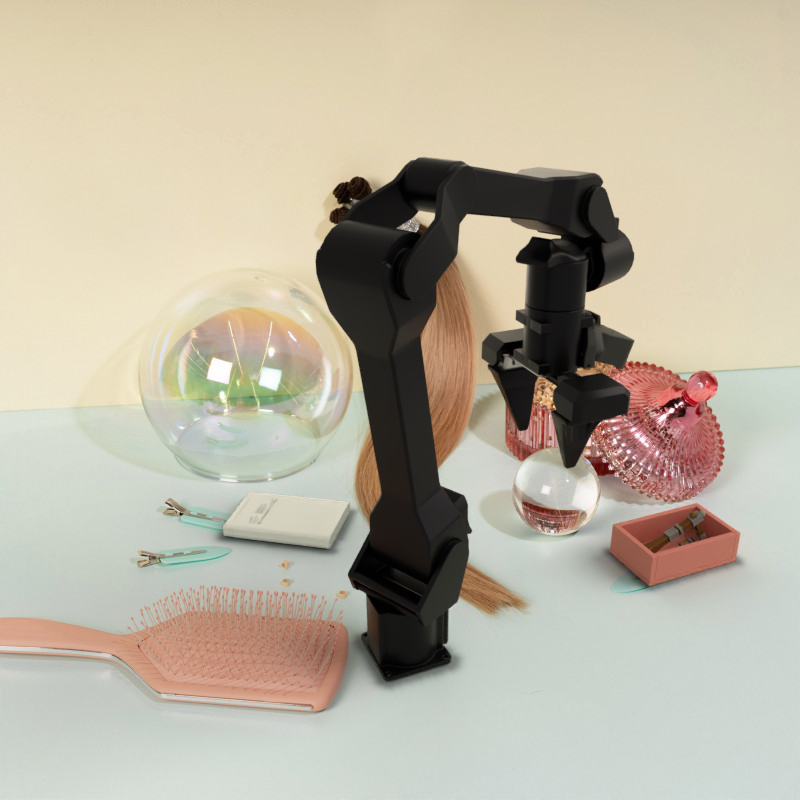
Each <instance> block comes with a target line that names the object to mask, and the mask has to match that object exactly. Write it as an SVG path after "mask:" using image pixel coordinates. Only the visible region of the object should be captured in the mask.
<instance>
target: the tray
mask: <svg viewBox="0 0 800 800" xmlns="http://www.w3.org/2000/svg"><path fill="white" fill-rule="evenodd" d="M695 510H697V511H698V512H699V511H701V510H703V511H705V516H704V517H703V519H704V521H701V522H700V524H701V527H702V529H703V532H704V533H705V535H706V539H704V540H700V541H699V539H697V540H696V542H693V543H690V544H686V545H682V546H679V544H678V542H681V541H683V540H684V539H686V538H685V536H686V537H687V538H689V539H690V538H691V539H692V537H695V536H696V532H695V531H692V530H689V529H688V530H686V531H685V532H684V534H683V535H680V537H679V538H677V539H675V540H674V541H673V542H672V543H671V542H669V543H667V544H666V545H665V546H664V547H662V548H661V549H660V550H659V551H658V552H657V553H653V552H651V551H650V550H649V549H648V548H647V547H645V546H644V545H643V544H645V543H648V542H650V541H652V540H654V539H656V538H658V537H660V536H661V535H663V534H664V532H665V531H667V530H668V529H670V528H671V527H672V526H673V527H675V524H676V523H677V524H679V523H681V522H682V521H684V520H685V519H687V516H689V514H690V513H691V512H695ZM691 528H694V529H695V527H694V526H692V527H691ZM691 536H692V537H691ZM696 537H697V536H696ZM697 538H698V537H697ZM740 538H741V532H740V531H738V530H737V529H735V528H734V527H733V526H731V525H729V524H728V523H727V522H725V521H724V520H723V519H721V518H720V517H718V516H716V515H715V514H714V513H712V512H711V511H709V510H708V509H707V508H705V507H704V506H702V505H701V504H699V503H698V502H695V503H690V504H687V505H683V506H679V507H676V508H671V509H668V510H664V511H661V512H655V513H653V514H648V515H645V516H641V517H636V518H633V519H629V520H625V521H622V522H618V523H614V524H612V529H611V538H610V547H609V548H610V549H609V553H611V555H613V556H614V557H615V558H616V559H617V560H618V561H619V562H620V563H622V564H623V565H624V566H625V567H626V568H628V570H629V571H631V572H632V573H633V574H634V575H635V576H637V578H639V579H640V580H641V581H642V582H643V583H645V584H646V585H647V586H648V587H653V586H655V585H658V584H662V583H665V582H669V581H672V580H675V579H679V578H682V577H686V576H689V575H693V574H696V573H700V572H702V571H706V570H709V569H712V568H717V567H721V566H723V565H727V564H731V563H733V562H736V560H737V555H738V550H739V545H740V540H741V539H740ZM695 539H696V538H695ZM677 546H679V547H677Z"/></svg>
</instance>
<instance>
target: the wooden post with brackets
mask: <svg viewBox="0 0 800 800" xmlns="http://www.w3.org/2000/svg"><path fill="white" fill-rule="evenodd" d="M704 516H705V511H703V510H701V511H699V512H698V511H697V510H695V512H691V513H690V514H689V516H687V519H685V520H684V521H682V522H681V523H679V524H677V523H676V524H675V527H673V526H672V527H671V528H670V529H668V530H667V531H665V532H664V534H663V535H661V536H660V537H658V538H656V539H654V540H652V541H650V542H648V543H645V544H643V545H644V546H645V547H647V548H648V549H649V550H650V551H651V552H653V553H657V552H658V551H659V550H660V549H661V548H662V547H664V546H665V545H666V544H667V543H669V542H671V543H672V542H673V541H674V540H675V539H677V538H679V537H680V535H683V534H684V532H685V531H686V530H688V529H689V530H692V531H695V532H696V536H697V537H698V538H697V537H696V536H695V537H692V536H691V537H692V539H691V538H690V539H689V538H687V537H686V536H685V538H686V539H684V540H683V541H681V542H678V544H679V546H682V545H686V544H690V543H693V542H696V540H697V539H699V541H700V540H704V539H706V535H705V533H704V532H703V529H702V527H701V524H700V522H701V521H704V519H703V517H704ZM692 526H694V527H695V529H694V528H691V527H692ZM695 538H696V539H695ZM679 546H677V547H679Z"/></svg>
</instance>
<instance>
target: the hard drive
mask: <svg viewBox="0 0 800 800" xmlns="http://www.w3.org/2000/svg"><path fill="white" fill-rule="evenodd" d="M350 512H351V502H350V501H343V500H333V499H325V498H324V499H322V498H314V497H304V496H296V495H286V494H274V493H267V492H266V493H265V492H257V491H249V492H248V493H247V494H246V495H245V497H244V498H243V500H241V502H240V503H239V504H238V506H237V507H236V508H235V509H234V511H233V513H232V514H231V515H230V516H229V517H228V518H227V520H226V521H225V522H224V524H223V526H222V533H223V536H224V537H230V538H236V539H245V540H253V541H260V542H268V543H269V542H270V543H276V544H277V543H278V544H285V545H286V544H287V545H293V546H294V545H296V546H304V547H309V548H310V547H311V548H318V549H319V548H320V549H326V550H330V549H331V548H332V547H333V545H334V543H335V541H336V540H337V537H338V535H339V534H340V532H341V530H342V528H343V526H344V524H345V522H346V521H347V519H348V517H349V515H350Z"/></svg>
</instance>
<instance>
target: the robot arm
mask: <svg viewBox="0 0 800 800" xmlns="http://www.w3.org/2000/svg"><path fill="white" fill-rule="evenodd" d="M603 184H604V180H603V178H602V176H601V175H599V174H598V173H596V172H590V171H589V172H588V171H579V170H570V169H562V168H561V169H560V168H551V167H544V166H543V167H542V166H536V167H529V168H523V169H520V170H518V171H517V172H516V173H515V172H508V171H502V170H497V169H491V168H485V167H479V166H474V165H473V166H472V165H469V164H468V163H466V162H465V161H462V160H457V159H448V158H438V157H430V156H429V157H428V156H420V157H417V158H416V159H412V160H409V161H408V162H407V163H406V164H405V165H404V166H403V167H402V168H401V170H400V171H399V172H398V173H397V175H396V176H395V177H394V178H393V179H392V180H391V181H389V182H387V183H386V184H384V185H383V186H381V187H380V188H378V189H376V190H375V191H373V192H371V193H370V194H368V195H367V196H365V197H363V198H362V199H360V200H358V201H357V202H355V203H354V204H353V205H352V206H351V207H350V208H349V210H348V211H347V212H346V213H345V215H344V216H343V217H342V218H341V219H340V220H339V221H338V223H337V224H336V225H334V226H333V227H332V228H331V229H330V230H329V232H328V233H327V234H326V235H325V237H324V239H323V241H322V243H321V245H320V247H319V248H318V249H317V250H316V253H315V262H314V263H315V274H316V278H317V280H318V284H319V286H320V289H321V292H322V294H323V298H324V301H325V303H326V305H327V309H328V311H329V313H330V314H331V316H332V318H334V320H335V321H336V322H337V324H338V325H339V326H340V328H341V329H342V330H343V332H344V333H345V335H346V336H347V337H348V338H349V340H350V341H351V342H352V344H353V346H354V349H355V352H356V358H357V363H358V364H357V365H358V369H359V375H360V380H361V385H362V390H363V391H362V392H363V397H364V403H365V408H366V414H367V419H368V425H369V430H370V436H371V441H372V448H373V452H374V457H375V463H376V469H377V474H378V480H379V486H380V491H381V492H380V495H379V497H378V499H377V501H376V502H375V504H374V506H373V508H372V509H371V511H370V513H369V515H368V518H369V519H368V520H369V531H368V533H367V535H366V538H365V539H364V541H363V542H362V544H361V547H360V549H359V551H358V553H357V555H356V557H355V558H354V560H353V562H352V564H351V566H350V568H349V570H348V572H347V578H348V579H349V582H350V584H351V586H352V589H354V590H356V591H361V592H362V593H364V594H365V602H366V603H365V604H366V605H365V606H366V631H364V632H362V633H361V634H360V637H361V638H360V640H361V642H362V644H363V645H364V647H365V649H366V651H367V653H368V654H369V656H370V658H371V660H372V661H373V664H374V665H375V667H376V669H377V670H378V673H379V674H380V675H381V677H382V679H383V680H384V681H385V682H393V681H395V680H399V679H403V678H405V677H409V676H413V675H415V674H418V673H422V672H426V671H429V670H432V669H436V668H439V667H442V666H445V665H449V664H451V662H452V655H451V653H450V652H449V650H448V649H447V647H446V646H445V645H447V644H448V642H449V618H450V617H449V615H450V614H449V613H450V608H452V607H453V606H454V605H456V604H457V603H458V602H459V598H460V595H461V590H462V586H463V582H464V578H465V574H466V570H467V567H468V562H469V557H470V547H469V546H470V540H469V535H470V534H472V533H473V529H472V527H471V525H470V522H469V503H468V500H467V498H466V496H465V494H462V493H461V492H457V491H455V490H452V489H450V488H448V487H446V486H443V485H441V482H440V475H439V468H438V461H437V459H438V458H437V452H436V445H435V438H434V437H435V436H434V429H433V421H432V415H431V408H430V401H429V400H430V399H429V393H428V385H427V377H426V371H425V370H426V369H425V361H424V356H423V348H422V334H423V332H424V330H425V328H426V326H427V324H428V322H429V320H430V319H431V317H432V314H433V313H434V310H435V309H436V307H437V299H438V298H437V291H438V290H437V288H438V287H437V286H438V285H437V283H438V282H439V281H440V279H441V278H442V276H443V275H444V274H445V273H446V271H447V270H448V269H449V267H450V266H451V264H452V263H453V262H454V260H455V259H456V258H457V255H458V249H459V240H460V237H459V236H460V226H461V224H462V222H463V221H464V219H465V218H466V216H467V215H473V216H483V217H495V218H506V219H510V221H511V223H514V224H516V225H518V226H521V227H522V228H525V229H527V230H531V231H537V232H538V233H541V234H546V235H551V236H552V235H553V236H559V237H560V238H559V237H557V238H556V237H555V238H546V237H539V236H534V235H533V236H531V237H530V239H529V240H528V242H527V243H526V244H525V246H524V247H522V248H521V249H520V250H519V252H518V253H517V254H516V256H515V262H516V263H517V264H521V265H526V275H525V294H524V308H522V309H516V310H515V321H516V322H518V323H520V324H521V325H523V327H521V328H515V329H508V330H500V331H496V332H495V331H494V332H489V333H488V335H487V336H486V337H485V338H484V339H483V341H482V342H481V359H482V360H483V361H485V362H486V363H487V365H486V367H487V370H488V371H490V374H491V375H492V377H493V379H494V381H495V383H496V385H497V387H498V389H499V392H500V394H501V396H502V397H503V400H504V403H505V404H506V407H507V409H508V411H509V414H510V416H511V419H512V420H513V422H514V425H515V427H516V429H517V430H518V431H519V432H524V431H527V430H528V429H529V427H530V421H531V417H532V410H533V403H534V398H535V397H534V395H535V390H536V384H537V381H538V379H540V378H541V379H545V380H546V381H548V382H549V383H551V384H552V385H554V386H555V388H554V389H552V394H553V395H552V402H553V405H554V408H555V409H554V410H551V411H550V415H551V417H552V422H553V427H554V431H555V435H556V440H557V445H558V449H559V453H560V458H561V461H562V464H563V467H564V468H565V469H567V470H569V469H573V468H575V467H576V466H577V464H578V462H579V460H580V458H581V456H582V454H583V452H584V451H585V449H586V446H587V445H588V442H589V441H590V439H591V437H592V435H593V434H594V431H596V429H597V427H598V426H599V425H600V424H601V423H602V422H603V421H606V420H611V419H614V418H616V417H619V416H624V415H628V414H629V412H630V402H631V391H630V390H629V389H628V388H627V387H626V386H625V385H624V384H622V383H621V382H620V381H617V380H615V379H613V378H612V377H610V376H609V375H607V374H605V373H604V372H598V373H597V372H596V373H592V374H586V375H581V374H579V373H578V369H583V370H587V369H593V368H595V367H596V366H595V365H596V362H597V363H601V364H606V365H610V366H613V367H614V368H615V369H618V370H624V368H625V365H626V364H627V362H628V361H627V360H628V358H629V356H630V353H631V351H632V348H633V346H634V343H635V341H636V340H635V339H634V338H631V337H629V336H628V335H625V334H623V333H621V332H619V331H618V330H615V329H614V328H611V327H608V326H606V325H604V324H602V322H601V320H602V319H601V318H602V317H601V314H598V313H596V312H594V311H592V310H589V309H586V297H587V296H586V295H587V293H591V292H594V291H595V290H598V289H600V288H603V287H605V286H607V285H609V284H611V283H614V282H616V281H618V280H621V279H622V278H624V277H626V275H627V274H628V273H629V272H630V271H631V269H632V267H633V265H634V261H635V252H634V249H633V245H632V243H631V241H630V239H629V237H628V236H627V235H626V233H624V232H623V231H622V230H621V229H619V225H620V218H619V216H618V217H617V216H615V213H614V209H613V208H612V204H611V201H610V197H609V194H608V191H607V189H606V188H605V187H604V186H603ZM419 212H424V213H429V214H430V213H431V214H434V218H433V220H432V221H431V222H430V224H429V225H428V227H427V228H426V229H425V230H424V231H423V233H419V232H418V231H411V230H405V229H400V227H401V226H403V225H404V224H406V223H407V222H409V221H411V220H412V219H414V218H415V216H417V214H418V213H419Z"/></svg>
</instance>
